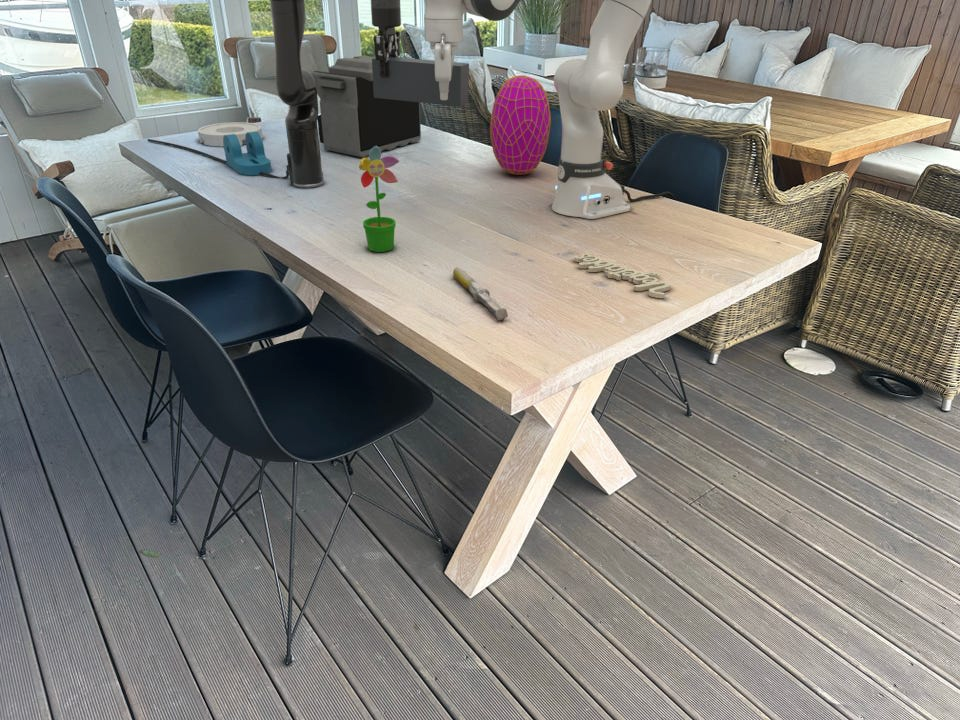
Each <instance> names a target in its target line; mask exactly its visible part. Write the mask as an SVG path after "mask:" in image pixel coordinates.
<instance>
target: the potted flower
mask: <svg viewBox="0 0 960 720" xmlns="http://www.w3.org/2000/svg"><path fill="white" fill-rule="evenodd" d="M398 163H400V160H399V158H397V157H396V156H394V155H391V154H388V155H384V156H382V152H381V150H380V148H379V147H378V146H375V147H373V148H372V149H371V150H370V152H369V155H368V157H363V158H362V157H361V160H360V162H359V166H358V169H360V170H361V171H363V173H362V175H361V176H360V182H361V185H362V187H363V188H367V187H369V186H370V185H371V184H372V182H373V181H374V183H375V200H370V201H368V202H367V203H366V204H365V206H366V207H367V208H368V209H370V210H371V209H372V210H376V213H377V216H373V217H369V218H366V219H364V220H363V221H362V225H363V229H364V232H365V237H366V243H367V248H368V250H370V251H372V252H376V253H386V252H389V251H392V250H393V249H394V247H395V230H396V229H395V228H396V224H397V221H396V220H395V219H394V218H392V217H389V216H388V217H387V216H381V207H380V205H381V204H380V200H381V201H382V200H384V198H385V197H386V195H387V193H385V192H380V190H379V178H380V180H381V181H382V182H385V183H388V184H395V183H398V182H399V181H398V178H397V177H396V175H395V174H394V172H393V171H391V170H390V168H391V167H394V166H395V165H397V164H398ZM388 168H389V169H388Z"/></svg>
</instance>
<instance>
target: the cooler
mask: <svg viewBox="0 0 960 720" xmlns="http://www.w3.org/2000/svg"><path fill="white" fill-rule="evenodd" d="M373 58H375V56H367V55H356V56H353V57H350V58H349V57H343V58H342V57H341V58H337V59H336V60H335V63H334V64H333V65H330V66H329V67H328V72H327V71H320V70H314V71H313V70H312V71H310V74H311V75H312V76H313V78H314V80H315V83H316V87H317V97H318V98H319V110H320V111H319V112H320V114H318V119H317V127H318V137H319V144H323V146H324V149H325V150H327V151H330V152H335V153H340V154H344V155H348V156H353V157H357V158H361V159H362V158H368V157H369V152H370V150H371V149H372V148H373V147H375V146H378V147H379V148H380V150H381V153H382V152H383V151H391V150H395V149H396V148H397V147H405V146H407V145H408V144H416V143H418V142H419V141H421V137H422V128H421V102H412V101H402V100H392V99H382V98H374V92H373V72H372V59H373Z"/></svg>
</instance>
